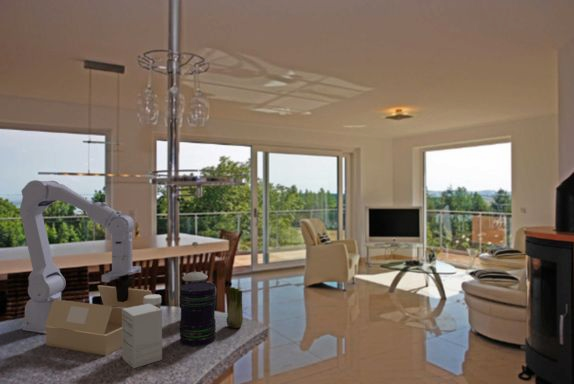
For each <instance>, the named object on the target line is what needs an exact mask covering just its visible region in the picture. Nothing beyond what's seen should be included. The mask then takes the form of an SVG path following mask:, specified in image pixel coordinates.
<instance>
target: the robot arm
mask: <svg viewBox="0 0 574 384" xmlns="http://www.w3.org/2000/svg"><path fill="white" fill-rule="evenodd" d="M21 195H22V199H21V203H20V207H19V214H20V218H21V222H22V226H23V227H22V228H23V232H24V237H25V240H26V241H25V242H26V244H27V245H26V246H27V249H28V253H29V258H30V263H31V265H32V266H31V267H32V270H31V272H30V273H29V276H28V277H27V278H28V279H27V280H28V287H27V293H28V296H29V298H30V299H29V300H28V301H27V302H26V303H25V308H24V327H22V329H21V330H22V331H26V332H27V331H28V332H32V333H40V334H44V335H46V326H45V323H46V321H47V318H48V315H49V312H50V309H51V307H52V304H53V301H54V299H58V300H62V292H63V290H64V289H65V288H66V279H65V277H64V276H63V274H62V273H61V270H60V268H59V267H58V266H57V265H56V264H55V263H54V260H53V255H52V251H51V247H50V243H49V239H48V232H47V228H46V225H45V220H44V216H43V213H44V212H45V211H46V209H47V208H48V207H49V206H50V205H52V204H53V203H55V202H56V201H62V202H64V203H67V204H69V205H71V206H72V207H74V208H76V209H78V210H81V211H83V212H84V213H86V216H87V219H89V220H91V221H92V222H95V223H96V224H98V225H100V226H101V227H104V228H105V229H107V230H108V232H109V233H110V234H111V271H108V272H106V273H104V274H102V275H101V283H109V282H112V283H113V285H114V287H116V291H117V301H118V302H125V301H127V299H128V289H129V287H130V286H131V283H132V282H133V279H134V278H133V276H131V275H134V274H139V273H142V265H141V266H140V265H135V266H134V265H133V231H134V229H135V227H136V222H135V220H134V218H133V217H132V216H130V215H129V214H125V213H124V214H122V211H121V210H116V209H113V208H112V207H110V206H109V203H107V202H104V201H103V202H101V201H97V202H92V201H91V200H89V199H87V198H85V196H82V195H81V194H79V193H78V192H76V191H74V189H71V188H69V187H68V186H67V185H65V184H62V183H59V181H56V180H48V181H47V180H37V179H36V180H35V179H34V180H30V181H28V183H27V184H26V185H24V187H23V188H22V189H21Z"/></svg>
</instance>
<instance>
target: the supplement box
mask: <svg viewBox="0 0 574 384" xmlns="http://www.w3.org/2000/svg"><path fill="white" fill-rule="evenodd" d="M121 309H122V348H121V349H122V350H121V351H122V352H121V355H122V360H123V361H124V362H126V363H127V365H129V366H130V367H132V368H133V369H137V368H139V367H143V366H145V365H149V364H152V363H155V362H159V361H162V360H163V309H162V308H161V307H160V308H158V307H156V306H154V305H152V304H144V305H139V306H134V307H129V308H124V307H123V308H121Z"/></svg>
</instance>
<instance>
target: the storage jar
mask: <svg viewBox="0 0 574 384" xmlns="http://www.w3.org/2000/svg"><path fill="white" fill-rule="evenodd" d="M212 283H213V282H212ZM212 283H211V282H210V283H207V281H206V282H204V281H203V282H202V281H195V282H188V283H184V284H182V285H180V287H179V291H180V292H179V309H180V319H181V321H180V322H179V328H178V329H179V337H180V338H179V343H180V344H181V345H183V346H186V347H191V348H192V347H195V348H196V347H197V348H198V347H205V346H209V345H211V344H212V343H214V342H215V340H216V330H217V329H216V328H217V326H216V323H217V322H216V317H215V307H216V303H217V301H216V299H217V298H216V296H217V293H216V294H215V287H216V284H214V283H213V284H212Z"/></svg>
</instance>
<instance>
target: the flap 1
mask: <svg viewBox="0 0 574 384" xmlns="http://www.w3.org/2000/svg"><path fill="white" fill-rule="evenodd" d="M112 307H113V308H114V306H108V305H104V304H99V303H88V302H83V301H82V302H81V301H73V300H65V299H61V300H58V299H54V301H53V304H52V307H51V309H50V312H49V315H48V318H47V321H46V323H45V326H49V327H56V328H62V329H69V330H75V331H82V332H89V333H95V334H102V335H104V334H105V330H106V327H107V323H108V320H109V317H110V313H111V310H112Z"/></svg>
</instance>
